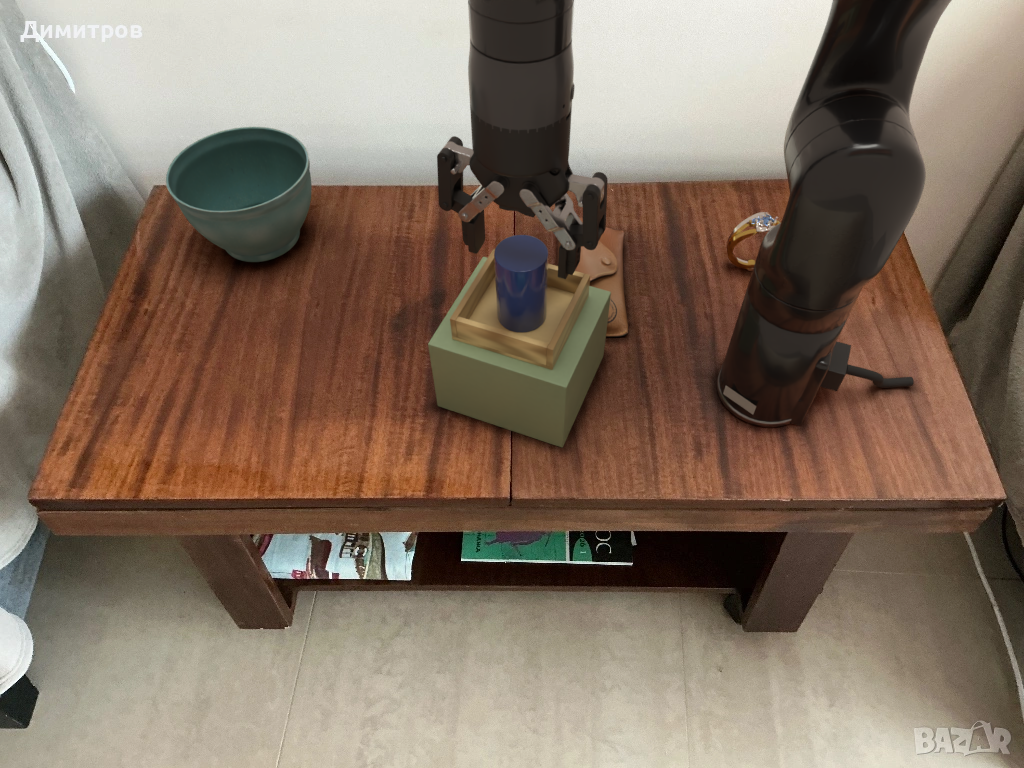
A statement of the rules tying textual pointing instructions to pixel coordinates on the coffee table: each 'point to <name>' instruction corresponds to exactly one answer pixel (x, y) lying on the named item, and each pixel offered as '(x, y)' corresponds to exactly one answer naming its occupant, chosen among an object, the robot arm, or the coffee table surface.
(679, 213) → the coffee table surface
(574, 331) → the riser
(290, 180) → the teal bowl
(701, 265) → the coffee table surface
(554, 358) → the tray
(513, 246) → the blue cylinder
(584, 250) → the sunglasses case
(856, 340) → the coffee table surface
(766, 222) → the ring
